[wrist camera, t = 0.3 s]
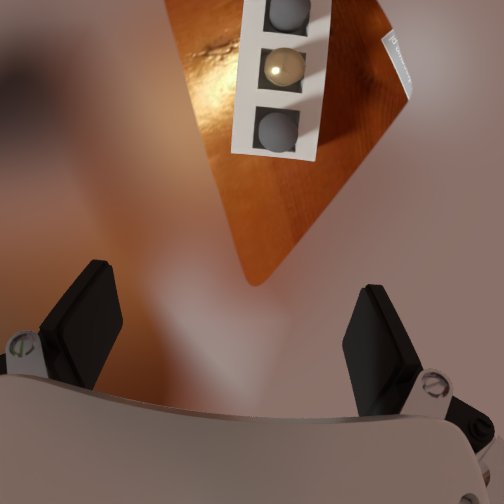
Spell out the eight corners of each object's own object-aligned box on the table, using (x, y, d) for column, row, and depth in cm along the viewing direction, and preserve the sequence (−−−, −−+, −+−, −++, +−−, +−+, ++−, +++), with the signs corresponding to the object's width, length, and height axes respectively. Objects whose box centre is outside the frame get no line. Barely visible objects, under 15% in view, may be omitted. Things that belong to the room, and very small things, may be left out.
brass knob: (265, 54, 27) (266, 45, 22) (299, 58, 27) (307, 50, 22) (262, 85, 29) (263, 82, 24) (296, 89, 29) (303, 86, 24)
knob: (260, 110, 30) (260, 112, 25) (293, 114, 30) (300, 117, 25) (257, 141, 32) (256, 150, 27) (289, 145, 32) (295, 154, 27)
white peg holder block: (247, 4, 27) (245, -12, 22) (321, 12, 27) (331, -1, 22) (235, 144, 36) (231, 153, 31) (306, 151, 36) (314, 161, 31)
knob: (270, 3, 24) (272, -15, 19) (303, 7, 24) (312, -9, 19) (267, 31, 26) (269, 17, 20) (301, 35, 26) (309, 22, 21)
